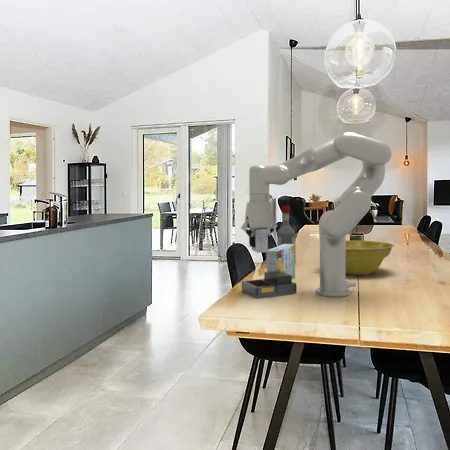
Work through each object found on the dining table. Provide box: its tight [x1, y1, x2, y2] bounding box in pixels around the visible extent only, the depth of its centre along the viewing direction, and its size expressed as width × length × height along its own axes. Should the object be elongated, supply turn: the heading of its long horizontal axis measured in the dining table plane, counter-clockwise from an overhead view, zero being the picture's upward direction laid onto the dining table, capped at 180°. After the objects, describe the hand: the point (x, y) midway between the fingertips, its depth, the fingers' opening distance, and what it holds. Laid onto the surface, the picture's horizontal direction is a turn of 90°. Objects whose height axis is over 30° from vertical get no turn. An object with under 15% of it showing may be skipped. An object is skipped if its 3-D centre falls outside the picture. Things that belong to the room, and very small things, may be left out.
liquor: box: [276, 205, 296, 253], centre depth 243 cm, size 9×9×30 cm
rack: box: [241, 271, 298, 299], centre depth 181 cm, size 17×13×7 cm
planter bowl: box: [346, 240, 395, 276], centre depth 217 cm, size 32×32×13 cm
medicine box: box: [251, 229, 269, 254], centre depth 178 cm, size 8×4×9 cm, turn 11°
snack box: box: [265, 244, 296, 279], centre depth 201 cm, size 21×6×15 cm, turn 152°
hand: (259, 245), depth 178 cm, fingers closed on medicine box, 5 cm apart
